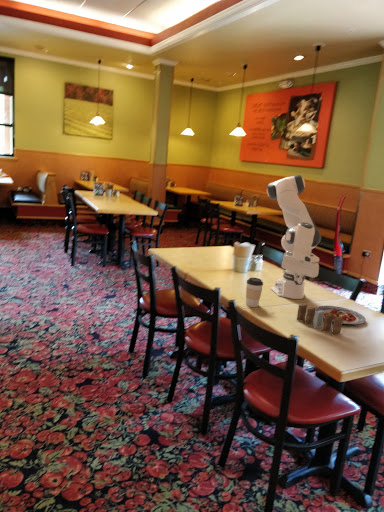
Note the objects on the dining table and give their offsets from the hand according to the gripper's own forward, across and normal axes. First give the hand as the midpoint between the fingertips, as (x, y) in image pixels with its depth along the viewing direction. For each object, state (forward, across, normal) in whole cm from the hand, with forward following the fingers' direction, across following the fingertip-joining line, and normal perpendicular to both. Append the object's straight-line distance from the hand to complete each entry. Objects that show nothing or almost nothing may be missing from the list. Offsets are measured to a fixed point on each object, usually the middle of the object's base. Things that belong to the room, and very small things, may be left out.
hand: (297, 281), depth 214 cm
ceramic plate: (+20, +14, +23) cm, 33 cm away
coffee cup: (+19, -22, -7) cm, 30 cm away
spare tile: (+19, +16, 0) cm, 25 cm away
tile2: (+19, +10, 0) cm, 22 cm away
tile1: (+19, +6, 0) cm, 20 cm away
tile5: (+19, +26, 0) cm, 32 cm away
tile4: (+19, +20, 0) cm, 28 cm away
